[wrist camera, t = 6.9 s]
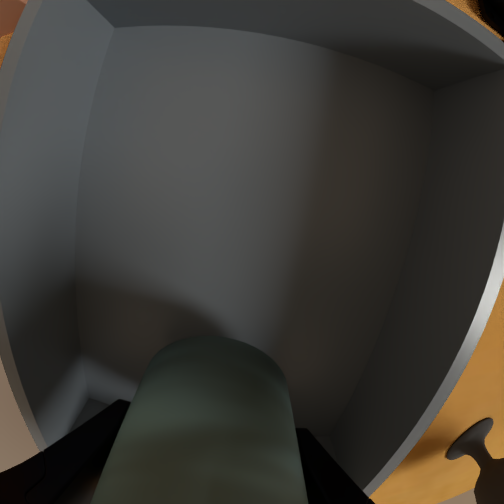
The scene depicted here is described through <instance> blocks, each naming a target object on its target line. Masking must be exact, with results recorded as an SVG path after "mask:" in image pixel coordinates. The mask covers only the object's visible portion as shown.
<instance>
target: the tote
mask: <svg viewBox="0 0 504 504" xmlns="http://www.w3.org/2000/svg"><path fill="white" fill-rule="evenodd" d="M503 277H504V42H502V41H501V40H500V39H499V38H498V37H496V36H495V35H494V34H493V33H491V32H490V31H489V30H488V29H486V28H485V27H484V26H482V25H481V24H480V23H478V22H477V21H475V20H474V19H473V18H471V17H470V16H468V15H467V14H465V13H464V12H462V11H461V10H459V9H458V8H456V7H455V6H453V5H452V4H450V3H448V2H447V1H445V0H28V2H27V4H26V6H25V8H24V10H23V12H22V14H21V16H20V19H19V21H18V23H17V26H16V28H15V30H14V33H13V35H12V38H11V40H10V43H9V46H8V48H7V51H6V54H5V57H4V60H3V63H2V66H1V69H0V356H1V360H2V363H3V366H4V369H5V372H6V375H7V378H8V381H9V384H10V387H11V389H12V392H13V394H14V397H15V400H16V402H17V404H18V407H19V409H20V411H21V414H22V416H23V418H24V421H25V423H26V425H27V427H28V429H29V431H30V433H31V435H32V437H33V439H34V441H35V443H36V445H37V446H38V449H39V451H40V452H41V451H43V450H44V449H46V448H47V447H49V446H50V445H52V444H53V443H55V442H56V441H58V440H59V439H61V438H62V437H64V436H65V435H67V434H68V433H70V432H71V431H73V430H74V429H76V428H77V427H79V426H80V425H82V424H83V423H84V422H86V421H87V420H89V419H90V418H92V417H93V416H95V415H96V414H98V413H99V412H100V411H102V410H103V409H105V408H106V407H108V406H109V405H110V404H112V403H113V402H115V401H116V400H118V399H123V400H126V401H129V402H132V400H133V397H134V395H135V393H136V391H137V388H138V386H139V384H140V382H141V379H142V377H143V375H144V373H145V371H146V369H147V366H148V364H149V362H150V361H151V359H152V358H153V356H154V355H155V354H156V353H157V352H158V351H159V350H161V349H162V348H164V347H165V346H167V345H169V344H171V343H173V342H175V341H178V340H181V339H185V338H189V337H196V336H219V337H226V338H231V339H236V340H239V341H242V342H245V343H247V344H249V345H252V346H254V347H256V348H258V349H259V350H261V351H263V352H264V353H265V354H267V355H268V356H269V357H271V358H272V359H273V360H274V361H275V362H276V363H277V365H278V366H279V367H280V369H281V370H282V372H283V374H284V376H285V379H286V382H287V386H288V391H289V397H290V402H291V408H292V413H293V419H294V424H295V428H296V427H299V428H307V429H308V430H309V431H310V432H311V433H312V434H313V436H314V437H315V438H316V439H317V440H318V441H319V443H320V444H321V445H322V446H323V447H324V448H325V450H326V451H327V452H328V453H329V454H330V455H331V456H332V458H333V459H334V460H335V461H336V462H337V463H338V464H339V465H340V467H341V468H342V469H343V470H344V471H345V472H346V473H347V474H348V475H349V477H350V478H351V479H352V480H353V481H354V482H355V483H356V484H357V485H358V486H359V487H360V488H361V489H362V491H363V492H364V493H365V494H366V495H367V496H368V497H369V496H370V495H371V494H372V493H373V492H374V491H375V490H376V489H377V488H378V487H379V486H380V485H381V484H382V483H383V482H384V481H385V480H386V479H387V478H388V477H389V475H390V474H391V473H392V472H393V471H394V470H395V469H396V468H397V466H398V465H399V464H400V463H401V462H402V461H403V459H404V458H405V457H406V456H407V455H408V453H409V452H410V451H411V450H412V448H413V447H414V446H415V444H416V443H417V442H418V441H419V439H420V438H421V437H422V435H423V434H424V433H425V431H426V430H427V428H428V427H429V426H430V424H431V423H432V421H433V420H434V418H435V417H436V415H437V414H438V412H439V411H440V409H441V408H442V406H443V405H444V403H445V402H446V400H447V398H448V397H449V395H450V394H451V392H452V390H453V389H454V387H455V385H456V383H457V382H458V380H459V378H460V376H461V375H462V373H463V371H464V369H465V367H466V365H467V363H468V362H469V360H470V358H471V356H472V354H473V352H474V350H475V348H476V345H477V343H478V341H479V339H480V337H481V335H482V332H483V330H484V328H485V326H486V323H487V321H488V318H489V316H490V314H491V311H492V308H493V306H494V303H495V301H496V298H497V295H498V292H499V289H500V287H501V284H502V281H503Z"/></svg>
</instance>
